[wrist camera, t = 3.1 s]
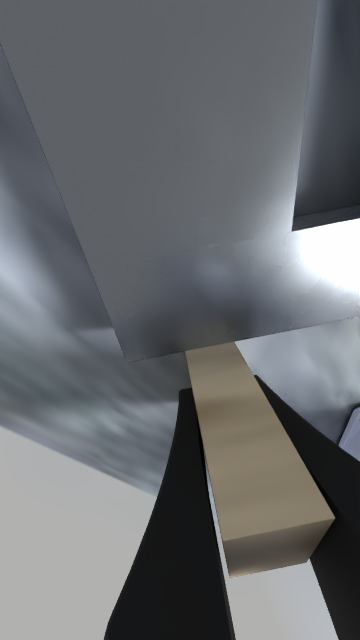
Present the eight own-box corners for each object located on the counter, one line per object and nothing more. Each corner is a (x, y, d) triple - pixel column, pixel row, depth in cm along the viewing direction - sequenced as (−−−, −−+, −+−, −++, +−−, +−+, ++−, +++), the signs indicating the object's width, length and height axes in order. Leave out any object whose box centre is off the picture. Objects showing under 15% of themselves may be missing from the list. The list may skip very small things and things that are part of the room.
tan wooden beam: (234, 392, 13) (306, 562, 7) (194, 400, 13) (229, 578, 7) (232, 339, 11) (335, 518, 5) (184, 348, 11) (222, 540, 4)
